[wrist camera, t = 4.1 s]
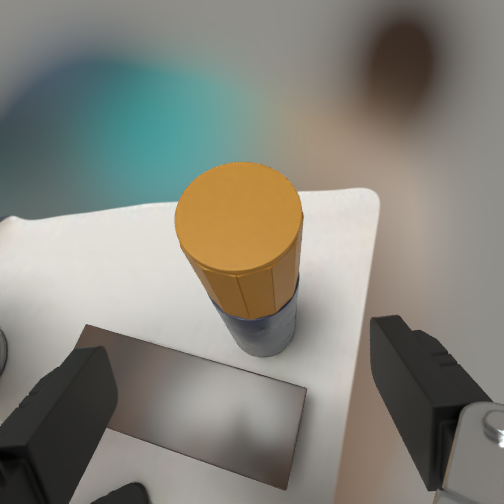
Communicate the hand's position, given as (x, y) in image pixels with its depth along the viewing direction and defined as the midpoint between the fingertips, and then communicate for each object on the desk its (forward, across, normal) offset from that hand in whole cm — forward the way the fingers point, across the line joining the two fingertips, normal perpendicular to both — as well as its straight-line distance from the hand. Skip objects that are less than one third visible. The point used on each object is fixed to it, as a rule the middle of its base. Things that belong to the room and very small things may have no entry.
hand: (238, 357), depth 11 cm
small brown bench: (+19, +7, +18) cm, 27 cm away
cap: (+14, 0, +3) cm, 14 cm away
